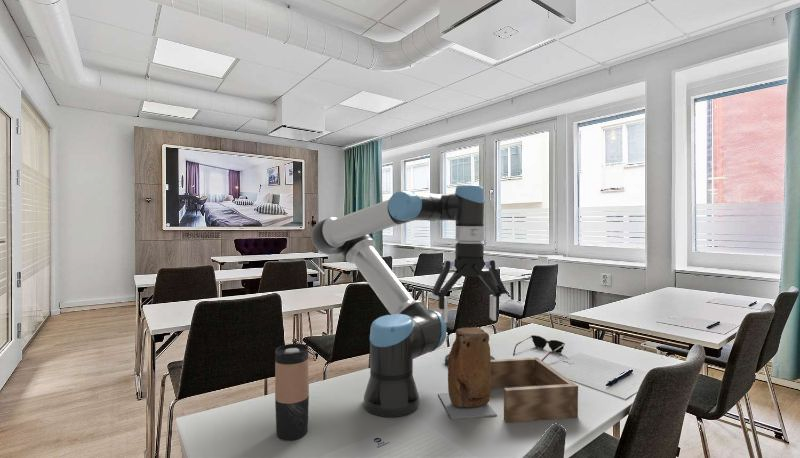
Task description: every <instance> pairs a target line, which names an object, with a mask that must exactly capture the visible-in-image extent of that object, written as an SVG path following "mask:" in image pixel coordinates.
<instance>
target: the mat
mask: <svg viewBox="0 0 800 458" xmlns="http://www.w3.org/2000/svg"><path fill="white" fill-rule="evenodd" d="M437 396H438V398H439V399H440V400H441V403H442V404H443V406H444V408H445V410H446V411H447V414H448V415H450V416H449V417H450V419H451V420H460V419H461V420H463V419H472V418H473V419H474V418H476V419H477V418H485V417H486V418H487V417H497V416H498V414H497V412H496V411H495V410H494V409H493V408H492V406H491V405H490V404H489V402H488V403H487V404H485V405H482V406H477V407H456V406H455V405H453V404H452V403H451V399H450V397H449V392H441V393H437Z"/></svg>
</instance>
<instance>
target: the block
mask: <svg viewBox="0 0 800 458" xmlns="http://www.w3.org/2000/svg"><path fill="white" fill-rule="evenodd" d="M489 341H490V335H489V333H488V332H486V331H485V330H484V329H483V328H480V327H475V326H474V327H473V326H472V327H461V328H457V329H456V330H455V339H454V341H453V343H452V345H451V349H450V352H449V353H448V354H449V359H448V365H447V388H448V391H447V392H448V393H449V397H450V399H451V403H452V404H453V405H455V406H456V407H477V406H482V405H485V404H487V403H488V404H489V402H490V400H491V391H492V388H491V374H490V371H491V357H490V355H491V348H490V347H491V346H490V343H489Z"/></svg>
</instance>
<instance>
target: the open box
mask: <svg viewBox="0 0 800 458" xmlns="http://www.w3.org/2000/svg"><path fill="white" fill-rule="evenodd" d="M490 374H491V389H499V388H502V389H503V421H504V422H505V423H506V424H507V423H517V422H519V423H521V422H531V421H544V420H556V419H557V420H560V419H569V418H571V419H572V418H579V385H578V384H576V383H574V382H573V381H572V380H570V379H569V378H567V377H566V375H565V376H564V375H563V374H562V373H560V372H559V371H557V370H556V369H554V368H553V367H551V366H550V365H548V364H547V363H546V362H545V361H544V360H543V361H542V359H541V358H539V357H523V358H521V357H519V358H505V359H504V358H501V359H495V360H491V371H490Z"/></svg>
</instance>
